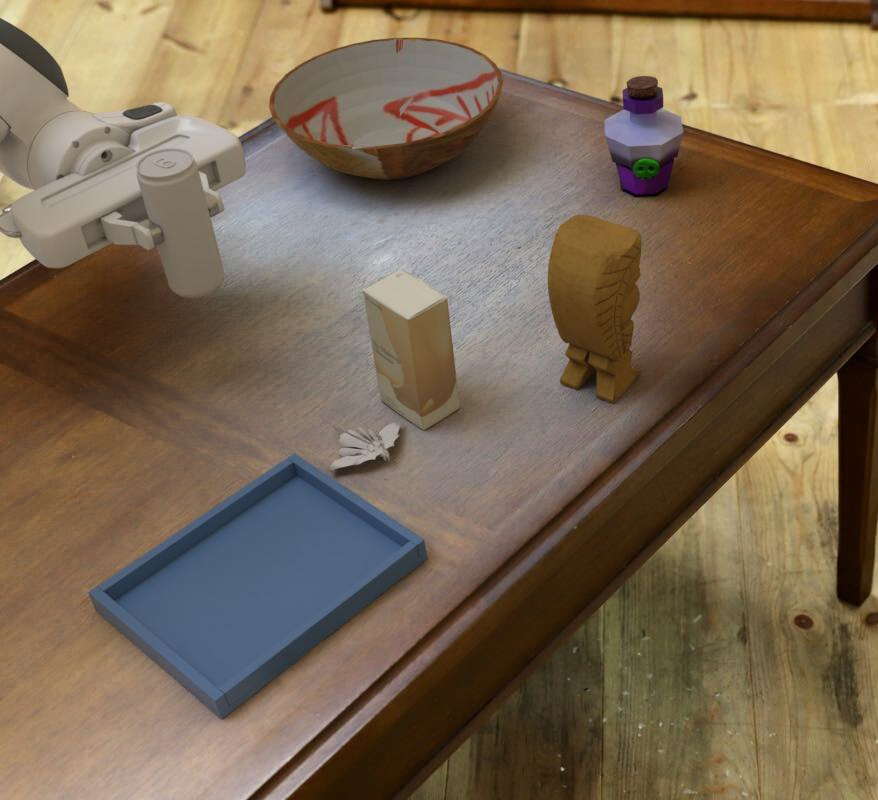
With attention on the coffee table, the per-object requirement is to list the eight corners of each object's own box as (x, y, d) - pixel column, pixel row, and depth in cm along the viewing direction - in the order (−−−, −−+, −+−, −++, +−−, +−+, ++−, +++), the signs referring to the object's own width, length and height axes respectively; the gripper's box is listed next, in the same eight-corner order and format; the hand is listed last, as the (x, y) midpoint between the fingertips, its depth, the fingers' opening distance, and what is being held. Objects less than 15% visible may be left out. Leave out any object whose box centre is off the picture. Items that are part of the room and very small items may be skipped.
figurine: (651, 373, 122) (647, 231, 113) (612, 415, 118) (605, 272, 108) (584, 349, 125) (576, 209, 116) (544, 390, 121) (532, 248, 111)
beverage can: (198, 306, 116) (164, 183, 108) (157, 290, 118) (121, 168, 110) (238, 277, 119) (207, 155, 111) (197, 262, 121) (164, 141, 113)
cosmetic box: (378, 401, 121) (357, 287, 113) (417, 377, 123) (398, 264, 115) (425, 433, 117) (407, 318, 109) (464, 409, 120) (448, 294, 112)
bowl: (267, 221, 144) (251, 154, 139) (299, 105, 163) (286, 42, 158) (507, 208, 144) (500, 141, 139) (511, 93, 163) (505, 30, 158)
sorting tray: (221, 719, 95) (215, 700, 94) (95, 610, 103) (87, 592, 102) (428, 558, 106) (424, 539, 105) (299, 471, 114) (294, 452, 113)
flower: (299, 463, 117) (290, 437, 115) (370, 415, 121) (362, 389, 120) (354, 491, 112) (345, 464, 110) (426, 440, 116) (419, 413, 115)
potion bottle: (624, 213, 142) (621, 109, 135) (591, 174, 148) (586, 72, 141) (699, 192, 145) (700, 89, 137) (663, 155, 151) (662, 54, 143)
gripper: (-28, 187, 113) (65, 245, 106) (179, 93, 124) (275, 140, 117) (-4, 251, 117) (87, 312, 110) (194, 155, 128) (289, 204, 121)
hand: (186, 222), depth 114 cm, fingers closed on beverage can, 5 cm apart
